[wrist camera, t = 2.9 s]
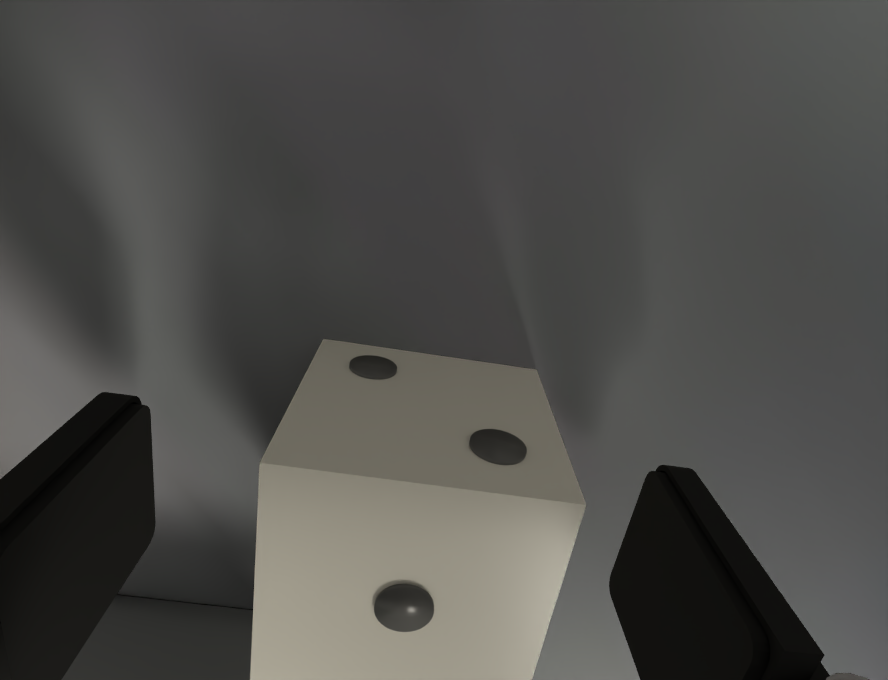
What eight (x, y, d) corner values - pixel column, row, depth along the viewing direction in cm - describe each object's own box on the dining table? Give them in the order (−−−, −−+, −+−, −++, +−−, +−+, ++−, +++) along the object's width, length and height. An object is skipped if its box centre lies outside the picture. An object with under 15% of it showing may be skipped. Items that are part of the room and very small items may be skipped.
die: (536, 364, 12) (588, 504, 8) (495, 534, 14) (519, 724, 9) (320, 333, 12) (252, 460, 7) (306, 510, 13) (243, 695, 9)
